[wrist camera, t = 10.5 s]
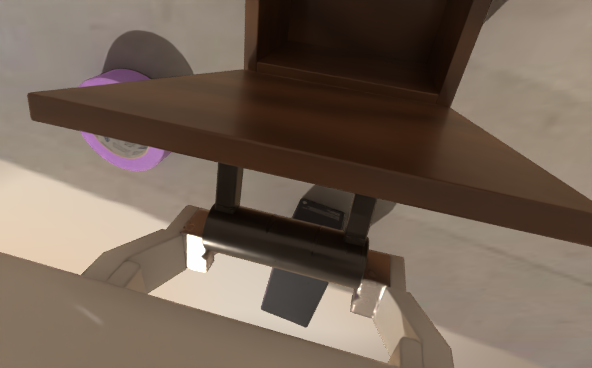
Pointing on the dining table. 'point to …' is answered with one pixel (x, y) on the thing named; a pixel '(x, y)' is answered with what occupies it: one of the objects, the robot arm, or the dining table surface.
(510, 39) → the dining table surface
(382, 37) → the chest
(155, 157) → the tape roll
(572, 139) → the dining table surface
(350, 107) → the lid
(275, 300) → the small box
